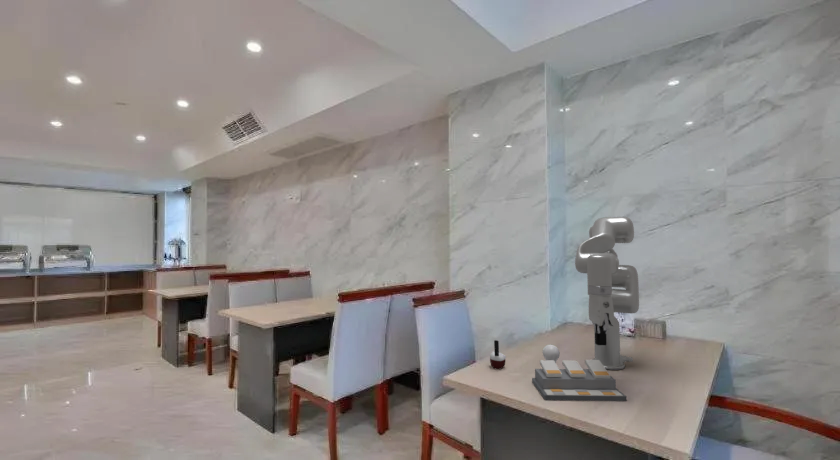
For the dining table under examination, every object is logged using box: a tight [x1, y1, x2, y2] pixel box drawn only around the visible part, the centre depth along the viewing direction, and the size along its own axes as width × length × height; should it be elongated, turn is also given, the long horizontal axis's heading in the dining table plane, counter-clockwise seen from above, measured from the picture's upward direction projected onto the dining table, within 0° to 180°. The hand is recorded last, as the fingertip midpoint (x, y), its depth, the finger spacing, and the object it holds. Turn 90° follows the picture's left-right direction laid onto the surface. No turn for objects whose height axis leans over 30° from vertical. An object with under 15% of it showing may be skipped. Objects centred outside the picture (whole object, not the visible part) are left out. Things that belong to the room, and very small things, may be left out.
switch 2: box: [561, 359, 586, 377], centre depth 133 cm, size 5×9×1 cm, turn 178°
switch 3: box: [584, 359, 611, 379], centre depth 133 cm, size 5×9×1 cm, turn 178°
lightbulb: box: [542, 344, 560, 364], centre depth 149 cm, size 6×6×11 cm
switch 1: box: [539, 359, 562, 377], centre depth 134 cm, size 5×9×1 cm, turn 178°
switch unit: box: [531, 368, 627, 402], centre depth 131 cm, size 26×16×5 cm, turn 88°
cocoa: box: [489, 339, 507, 370], centre depth 156 cm, size 10×6×12 cm, turn 142°
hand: (600, 344), depth 130 cm, fingers closed
